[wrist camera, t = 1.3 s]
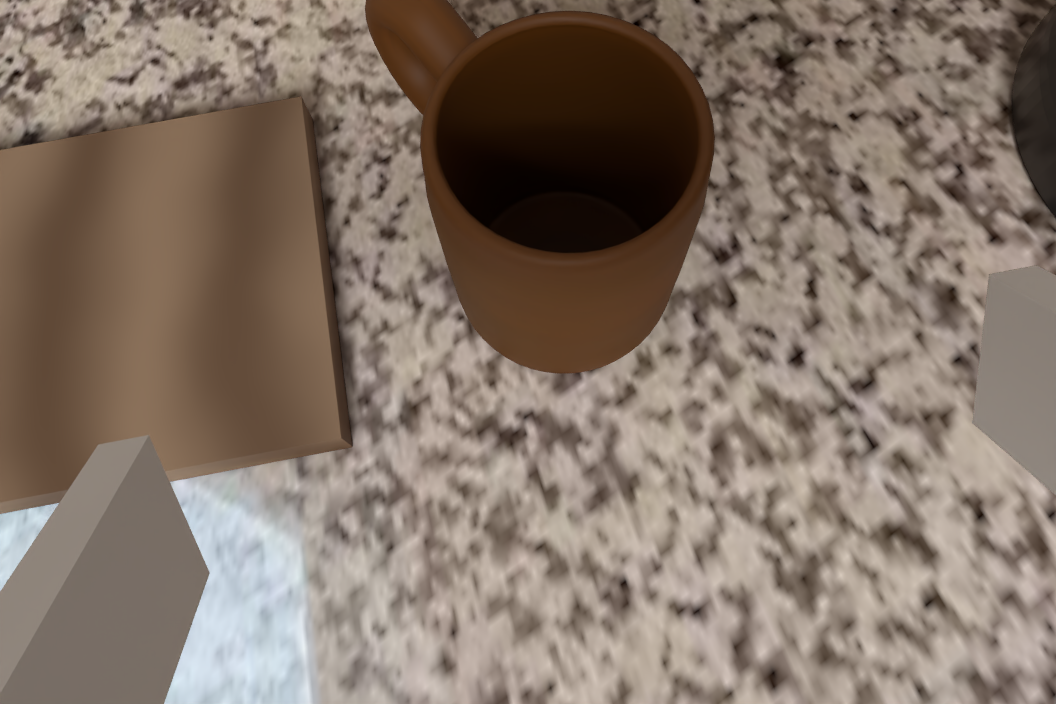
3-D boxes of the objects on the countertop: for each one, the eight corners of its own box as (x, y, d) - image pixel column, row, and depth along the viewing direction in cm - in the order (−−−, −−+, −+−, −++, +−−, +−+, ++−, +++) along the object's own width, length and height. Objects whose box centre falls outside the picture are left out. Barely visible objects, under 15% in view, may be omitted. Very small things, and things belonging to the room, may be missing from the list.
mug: (338, 195, 30) (247, 20, 21) (490, 75, 32) (464, -136, 23) (558, 425, 27) (560, 335, 18) (715, 282, 29) (787, 133, 20)
